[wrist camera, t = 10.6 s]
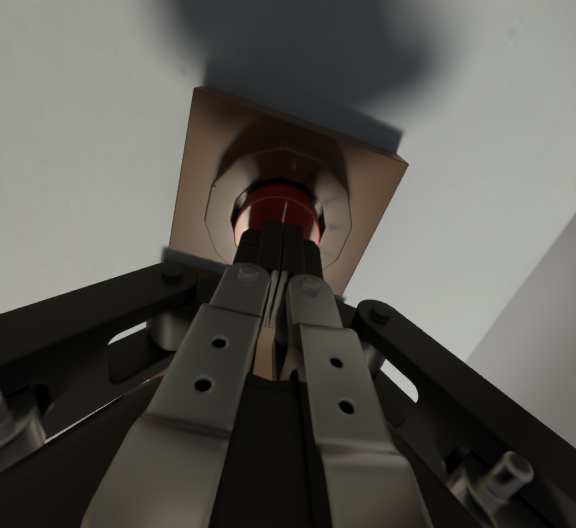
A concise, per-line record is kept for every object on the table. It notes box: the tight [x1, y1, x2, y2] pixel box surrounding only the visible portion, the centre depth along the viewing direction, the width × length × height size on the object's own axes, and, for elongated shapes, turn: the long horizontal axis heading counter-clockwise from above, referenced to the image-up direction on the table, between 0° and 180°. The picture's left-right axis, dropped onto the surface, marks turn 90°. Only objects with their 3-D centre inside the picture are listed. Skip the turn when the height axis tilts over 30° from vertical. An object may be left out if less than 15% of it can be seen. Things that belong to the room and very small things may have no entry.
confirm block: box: [169, 85, 409, 296], centre depth 17 cm, size 10×8×4 cm
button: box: [234, 183, 320, 248], centre depth 14 cm, size 4×4×2 cm
